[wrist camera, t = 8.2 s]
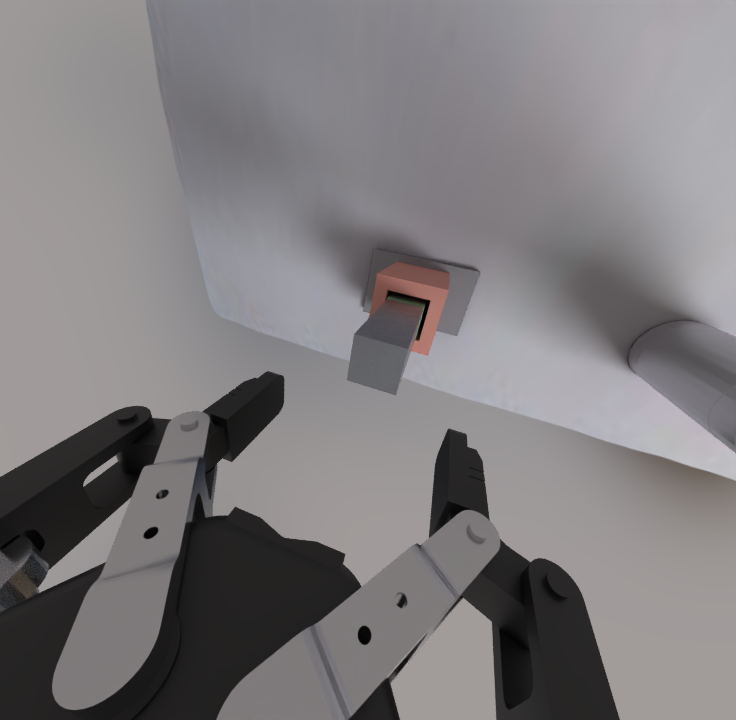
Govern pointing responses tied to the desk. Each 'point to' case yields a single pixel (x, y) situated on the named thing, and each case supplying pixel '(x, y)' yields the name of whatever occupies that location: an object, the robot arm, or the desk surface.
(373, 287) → the stand sleeve
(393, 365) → the steel column
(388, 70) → the desk surface
